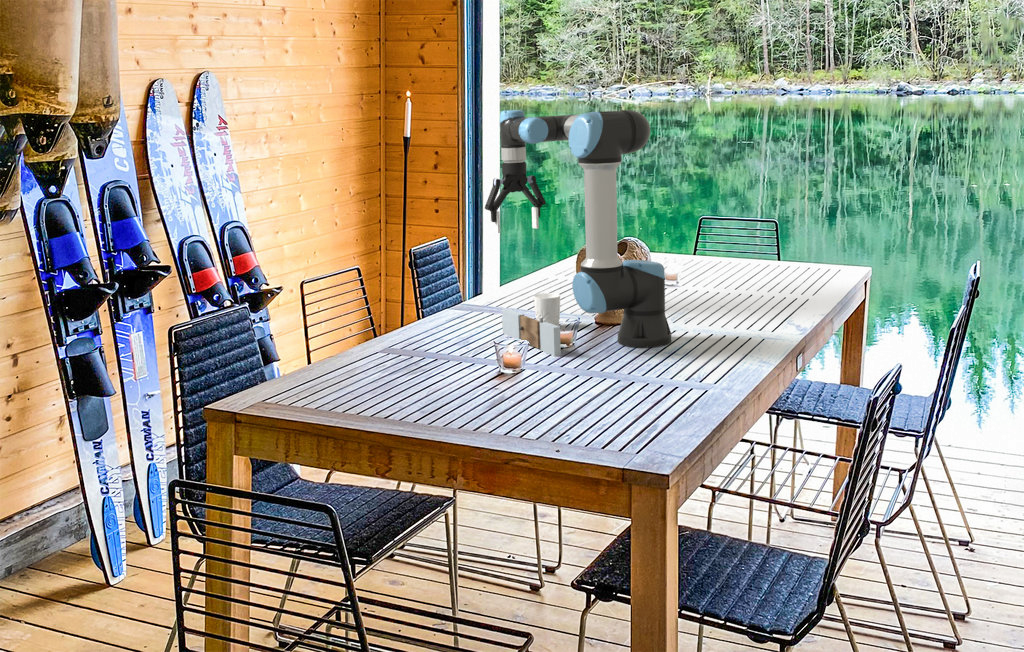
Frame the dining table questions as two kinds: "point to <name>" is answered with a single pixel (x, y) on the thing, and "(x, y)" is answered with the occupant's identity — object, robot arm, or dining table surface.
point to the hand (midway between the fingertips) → (516, 230)
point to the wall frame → (547, 331)
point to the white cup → (547, 307)
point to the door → (530, 330)
